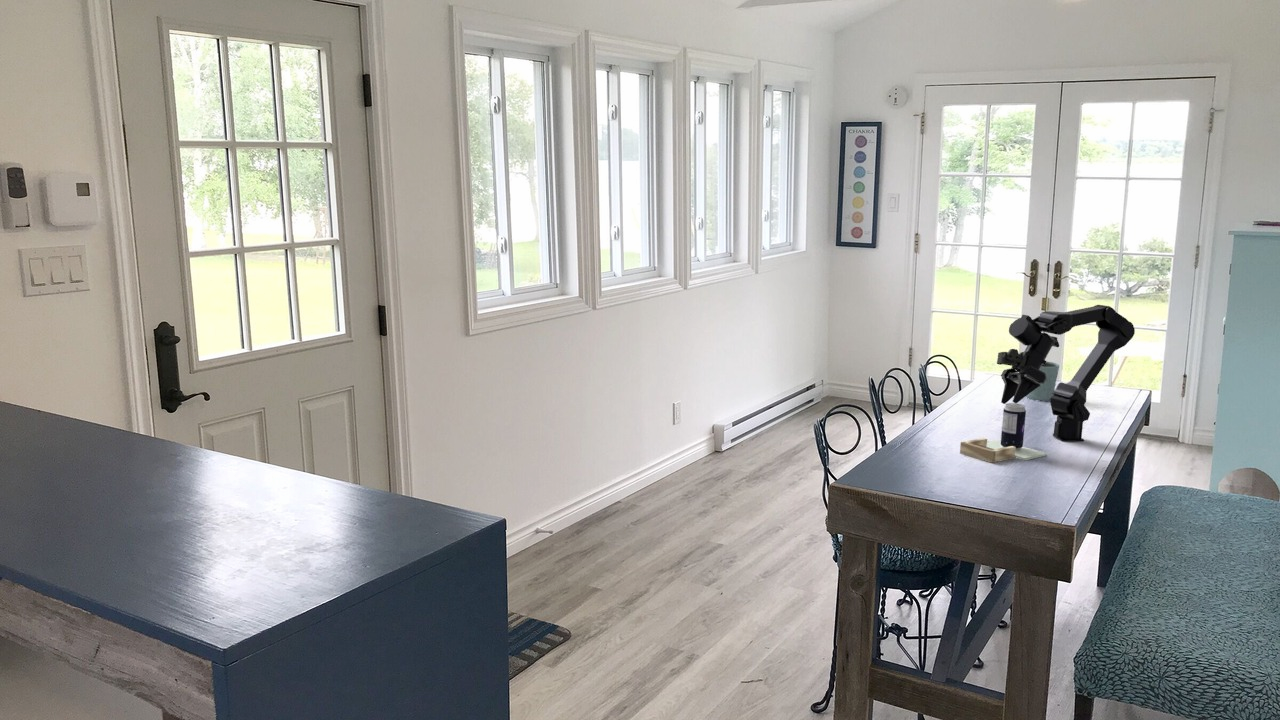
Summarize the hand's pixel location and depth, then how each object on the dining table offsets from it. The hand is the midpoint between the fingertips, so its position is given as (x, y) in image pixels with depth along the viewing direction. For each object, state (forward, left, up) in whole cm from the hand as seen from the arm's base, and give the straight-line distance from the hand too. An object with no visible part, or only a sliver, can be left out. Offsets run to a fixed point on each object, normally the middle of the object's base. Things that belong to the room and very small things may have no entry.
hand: (1008, 402), depth 268 cm
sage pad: (0, +4, -12) cm, 13 cm away
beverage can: (0, +4, -12) cm, 13 cm away
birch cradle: (+8, +9, -12) cm, 17 cm away
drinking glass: (-36, -59, -13) cm, 70 cm away
